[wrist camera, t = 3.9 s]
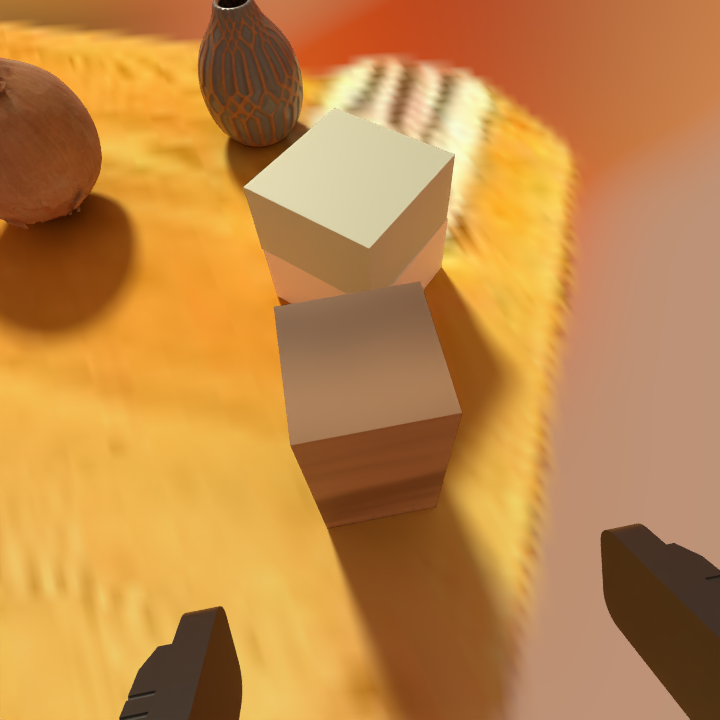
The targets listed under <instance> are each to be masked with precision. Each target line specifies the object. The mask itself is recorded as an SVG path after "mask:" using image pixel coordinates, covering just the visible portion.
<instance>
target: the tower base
mask: <svg viewBox="0 0 720 720" xmlns="http://www.w3.org/2000/svg"><path fill="white" fill-rule="evenodd" d="M447 221H448V218H447V219H446V220H445V221H444V223H443V224H442V225H441V226H440V227H439V229H438V230H437V231H436V232H435V233H434V234H433V236H432V237H431V238H430V239H429V240H428V242H427V243H426V244H425V245H424V246H423V248H422V249H421V250H420V251H419V252H418V253H417V255H416V256H415V257H414V258H413V259H412V261H411V262H410V263H409V264H408V265H407V266H406V268H405V269H404V270H403V271H402V272H401V274H400V275H399V276H398V277H397V278H396V279H395V281H394V282H393V283H392V284H391V285H390V286H396V285H401V284H407V283H413V282H418V281H420V282H421V285H422V288H423V290H424V289H425V288H426V286H427V285H428V284H429V282H430V281H431V280H432V279H433V277H434V276H435V275H436V273H437V272H438V271H439V269H440V268H441V267H442V259H443V252H444V244H445V236H446V229H447ZM264 253H265V256H266V259H267V263H268V266H269V269H270V273H271V276H272V280H273V283H274V286H275V290H276V293H277V296H278V297H280V298H282V299H284V300H285V301H287V302H289V303H291V304H293V303H299V302H305V301H310V300H316V299H322V298H327V297H333V296H339V295H345V294H346V293H344V292H342V291H340V290H339V289H337V288H335V287H333V286H331V285H329V284H327V283H326V282H324V281H322V280H320V279H318V278H316V277H314V276H312V275H311V274H309V273H307V272H305V271H303V270H301V269H299V268H297V267H296V266H294V265H292V264H290V263H288V262H286V261H284V260H282V259H281V258H279V257H277V256H275V255H273V254H271V253H269V252H268V251H266V250H264Z"/></svg>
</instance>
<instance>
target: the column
mask: <svg viewBox="0 0 720 720" xmlns="http://www.w3.org/2000/svg"><path fill="white" fill-rule="evenodd" d="M274 312H275V320H276V328H277V337H278V345H279V354H280V362H281V370H282V379H283V387H284V396H285V404H286V413H287V421H288V429H289V438H290V446H291V448H292V450H293V452H294V455H295V457H296V459H297V461H298V464H299V466H300V468H301V470H302V473H303V475H304V477H305V479H306V482H307V484H308V486H309V488H310V491H311V493H312V495H313V497H314V500H315V502H316V504H317V506H318V509H319V511H320V513H321V515H322V518H323V520H324V522H325V524H326V527H327V528H332V527H337V526H342V525H347V524H352V523H357V522H363V521H368V520H373V519H378V518H383V517H388V516H393V515H398V514H403V513H408V512H413V511H418V510H423V509H428V508H433V507H436V504H437V500H438V497H439V493H440V490H441V486H442V483H443V479H444V476H445V472H446V468H447V465H448V461H449V458H450V454H451V451H452V447H453V443H454V440H455V436H456V433H457V429H458V426H459V422H460V419H461V415H462V411H461V408H460V404H459V401H458V398H457V395H456V392H455V389H454V386H453V382H452V379H451V376H450V373H449V370H448V367H447V364H446V360H445V357H444V354H443V351H442V348H441V345H440V341H439V338H438V335H437V332H436V329H435V326H434V323H433V319H432V316H431V313H430V310H429V307H428V304H427V300H426V297H425V294H424V291H423V288H422V285H421V282H420V281H418V282H413V283H407V284H401V285H396V286H390V287H384V288H379V289H373V290H367V291H362V292H356V293H350V294H345V295H339V296H333V297H327V298H322V299H316V300H310V301H305V302H299V303H293V304H288V305H282V306H276V307H274Z"/></svg>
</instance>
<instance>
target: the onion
mask: <svg viewBox="0 0 720 720" xmlns="http://www.w3.org/2000/svg"><path fill="white" fill-rule="evenodd" d="M101 161H102V155H101V146H100V141H99V137H98V133H97V130H96V127H95V125H94V122H93V120H92V118H91V116H90V115H89V113H88V111H87V109H86V108H85V106H84V105H83V103H82V102H81V101H80V99H79V98H78V97H77V96H76V95H75V93H74V92H73V91H72V90H71V89H70V88H69V87H68V86H67V85H65V84H64V83H63V82H62V81H61V80H60V79H59V78H57V77H56V76H55V75H53V74H51V73H50V72H48V71H46V70H43V69H41V68H39V67H37V66H34V65H31V64H27V63H24V62H21V61H16V60H10V59H5V58H0V219H2V220H5V221H6V222H7V223H9V224H12V225H14V226H17V227H20V228H25V229H28V227H27V226H26V223H27V224H35V223H36V222H40V221H42V223H44V222H45V221H49V220H54V219H58V217H61V216H66V215H67V214H69V215H72V213H71V211H72V210H74V209H77V212H80V211H81V210H80V208H79V206H80V205H81V203H82V202H83V201H84V200H85V199H86V198H87V197H88V195H89V194H90V192H91V190H92V188H93V186H94V185H95V183H96V181H97V178H98V176H99V174H100V169H101ZM79 210H80V211H79Z"/></svg>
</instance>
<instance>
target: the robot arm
mask: <svg viewBox="0 0 720 720" xmlns="http://www.w3.org/2000/svg"><path fill="white" fill-rule="evenodd" d="M601 557H602V574H603V591H604V598H605V602H606V605H607V608H608V611H609V613H610V615H611V617H612V619H613V621H614V622H615V624H616V625H617V627H618V628H619V629H620V631H621V632H622V633H623V634H624V636H625V637H626V638H627V639H628V641H629V642H630V643H631V645H632V646H633V647H634V648H635V650H636V651H637V652H638V654H639V655H640V656H641V657H642V659H643V660H644V661H645V662H646V664H647V665H648V666H649V667H650V669H651V670H652V671H653V673H654V674H655V675H656V676H657V678H658V679H659V680H660V681H661V683H662V684H663V685H664V687H666V689H667V690H668V692H669V693H670V694H671V695H672V697H673V698H674V699H675V700H676V702H677V703H678V704H679V706H680V707H681V708H682V709H683V711H684V712H685V713H686V715H687V716H688V717H689V718H690V720H720V570H719V569H717V568H716V567H715V566H714V565H713V564H711V563H710V562H709V561H707V560H706V559H705V558H704V557H703V556H701V555H699V554H697V553H694V552H692V551H690V550H688V549H686V548H683V547H682V546H679V545H677V544H675V543H672V544H667V545H666V544H665V543H664V542H663V541H661V540H660V539H659V538H658V537H657V536H656V535H654V534H653V533H652V532H651V531H650V530H649V529H648V528H646V527H645V526H644V525H641V524H634V525H628V526H624V527H619V528H614V529H609V530H604V531H603V532H602V534H601ZM241 703H242V677H241V670H240V665H239V661H238V658H237V654H236V650H235V646H234V643H233V639H232V635H231V631H230V628H229V624H228V620H227V616H226V613H225V611H224V609H223V607H221V606H219V607H214V608H209V609H204V610H199V611H194V612H189V613H185V614H183V616H182V617H181V620H180V623H179V626H178V628H177V631H176V634H175V637H174V640H173V643H172V644H169V645H164V646H159V647H157V648H156V650H155V651H154V652H153V653H152V655H151V656H150V657H149V658H148V659H147V661H146V662H145V663H144V664H143V666H142V667H141V668H140V669H139V670H138V673H137V675H136V678H135V680H134V683H133V685H132V688H131V690H130V693H129V695H128V701H126V703H125V705H124V707H123V710H122V712H121V715H120V717H119V718H120V720H239V716H240V709H241Z"/></svg>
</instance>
